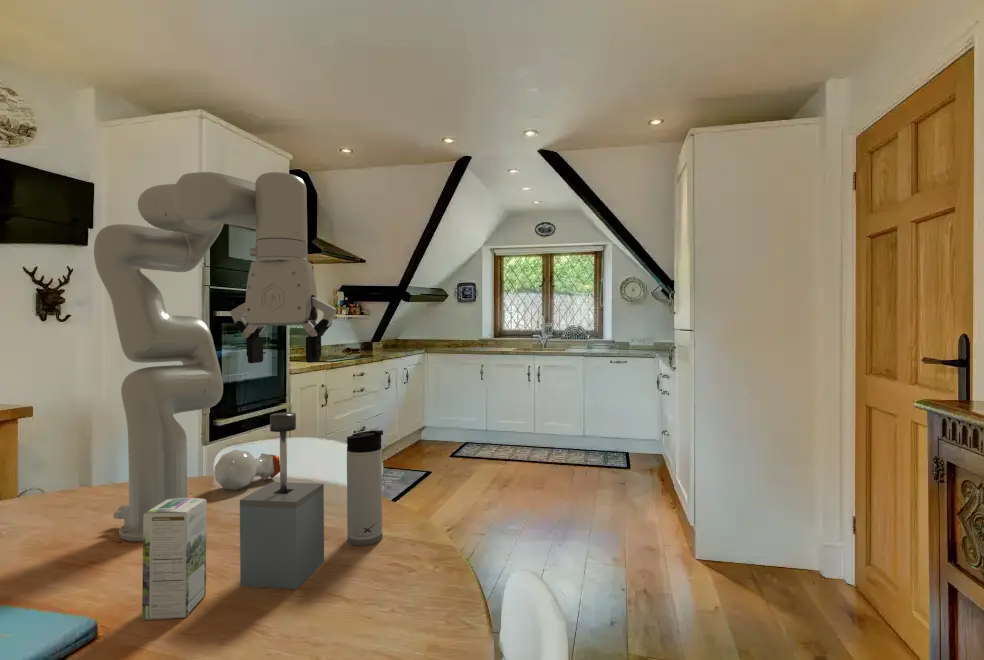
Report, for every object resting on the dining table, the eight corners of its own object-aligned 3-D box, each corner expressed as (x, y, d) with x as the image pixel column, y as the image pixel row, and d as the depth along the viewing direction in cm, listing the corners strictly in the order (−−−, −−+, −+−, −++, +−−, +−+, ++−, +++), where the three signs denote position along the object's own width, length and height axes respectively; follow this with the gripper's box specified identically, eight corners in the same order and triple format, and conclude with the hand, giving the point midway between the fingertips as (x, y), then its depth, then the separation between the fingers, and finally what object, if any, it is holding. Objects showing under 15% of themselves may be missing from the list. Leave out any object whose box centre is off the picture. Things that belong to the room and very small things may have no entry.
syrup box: (165, 598, 73) (164, 498, 73) (207, 596, 74) (207, 496, 74) (141, 621, 68) (140, 512, 68) (187, 618, 68) (186, 510, 68)
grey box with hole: (240, 585, 77) (239, 499, 77) (273, 559, 86) (272, 481, 86) (296, 589, 76) (295, 501, 76) (324, 561, 85) (323, 483, 85)
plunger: (256, 514, 78) (256, 417, 78) (277, 502, 84) (276, 411, 84) (291, 516, 78) (290, 417, 78) (309, 503, 83) (308, 411, 83)
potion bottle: (210, 500, 120) (267, 490, 133) (233, 480, 117) (289, 472, 129) (201, 464, 124) (258, 458, 137) (223, 444, 120) (278, 440, 133)
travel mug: (375, 548, 90) (374, 434, 90) (341, 545, 91) (340, 433, 91) (389, 533, 96) (388, 427, 96) (357, 531, 97) (356, 426, 97)
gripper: (216, 252, 78) (218, 364, 78) (323, 248, 76) (325, 363, 76) (246, 259, 85) (247, 361, 85) (344, 255, 83) (346, 360, 83)
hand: (284, 362), depth 81 cm, fingers open, 9 cm apart
